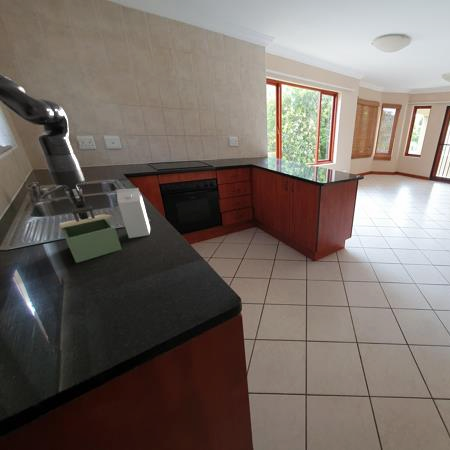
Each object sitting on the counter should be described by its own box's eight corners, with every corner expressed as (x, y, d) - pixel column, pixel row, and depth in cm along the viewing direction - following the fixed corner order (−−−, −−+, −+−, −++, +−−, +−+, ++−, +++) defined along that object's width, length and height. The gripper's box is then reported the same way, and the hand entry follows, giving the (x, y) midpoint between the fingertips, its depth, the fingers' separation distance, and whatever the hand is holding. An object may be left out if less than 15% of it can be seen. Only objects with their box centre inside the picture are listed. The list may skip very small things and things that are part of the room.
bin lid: (111, 217, 81) (106, 203, 79) (61, 228, 72) (54, 212, 71) (104, 216, 92) (99, 203, 91) (60, 225, 83) (54, 211, 82)
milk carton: (131, 232, 99) (117, 187, 92) (150, 228, 102) (139, 186, 95) (128, 238, 94) (114, 192, 86) (149, 235, 97) (137, 190, 89)
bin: (121, 249, 86) (114, 227, 82) (76, 263, 77) (65, 239, 74) (111, 236, 96) (104, 216, 92) (69, 247, 87) (60, 225, 84)
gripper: (83, 169, 74) (101, 220, 81) (77, 164, 82) (94, 211, 89) (50, 173, 69) (72, 226, 76) (47, 167, 77) (67, 216, 84)
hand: (84, 218), depth 83 cm, fingers closed
